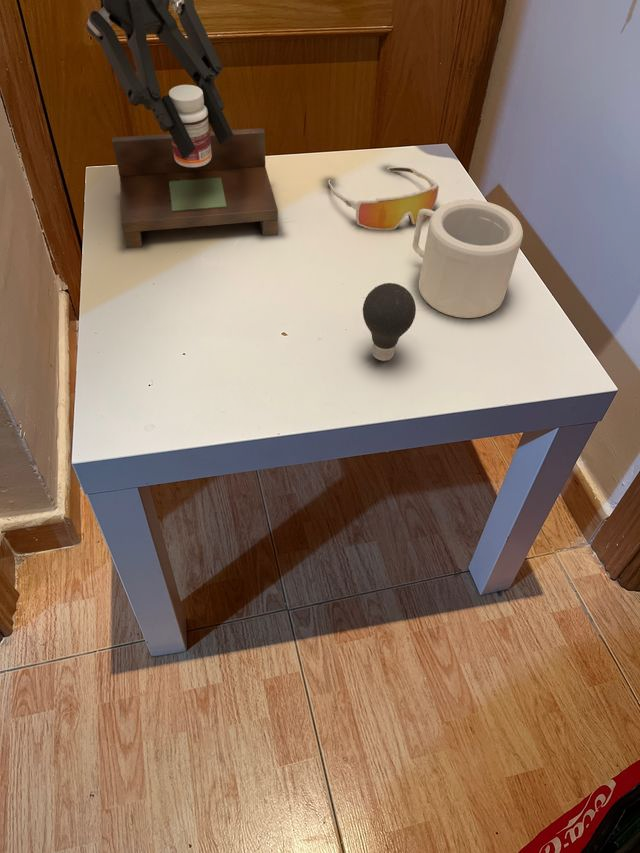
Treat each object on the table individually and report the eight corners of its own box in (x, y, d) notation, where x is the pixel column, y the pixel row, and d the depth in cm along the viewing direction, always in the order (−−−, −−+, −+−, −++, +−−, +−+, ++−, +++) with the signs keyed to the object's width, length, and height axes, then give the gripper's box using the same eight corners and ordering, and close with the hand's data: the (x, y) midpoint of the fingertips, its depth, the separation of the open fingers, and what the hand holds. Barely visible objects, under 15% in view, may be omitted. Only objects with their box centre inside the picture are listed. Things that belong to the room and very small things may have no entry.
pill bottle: (171, 151, 88) (162, 85, 82) (207, 147, 89) (201, 81, 83) (177, 170, 85) (168, 103, 79) (215, 165, 86) (209, 99, 80)
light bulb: (395, 337, 81) (407, 267, 73) (414, 370, 77) (428, 301, 70) (350, 346, 79) (357, 276, 72) (367, 380, 76) (376, 311, 68)
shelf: (126, 249, 90) (113, 186, 83) (124, 198, 97) (112, 137, 90) (278, 236, 93) (277, 174, 86) (265, 187, 100) (263, 127, 93)
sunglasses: (360, 241, 92) (361, 206, 89) (316, 197, 102) (315, 164, 99) (451, 220, 96) (455, 185, 93) (399, 180, 106) (401, 147, 103)
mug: (520, 292, 87) (542, 224, 79) (470, 333, 82) (489, 264, 74) (435, 246, 92) (448, 177, 85) (383, 281, 87) (392, 212, 80)
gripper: (167, -45, 85) (253, 136, 90) (33, -15, 77) (136, 181, 82) (186, -86, 79) (279, 112, 84) (42, -58, 71) (153, 158, 76)
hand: (208, 146), depth 83 cm, fingers closed on pill bottle, 5 cm apart
